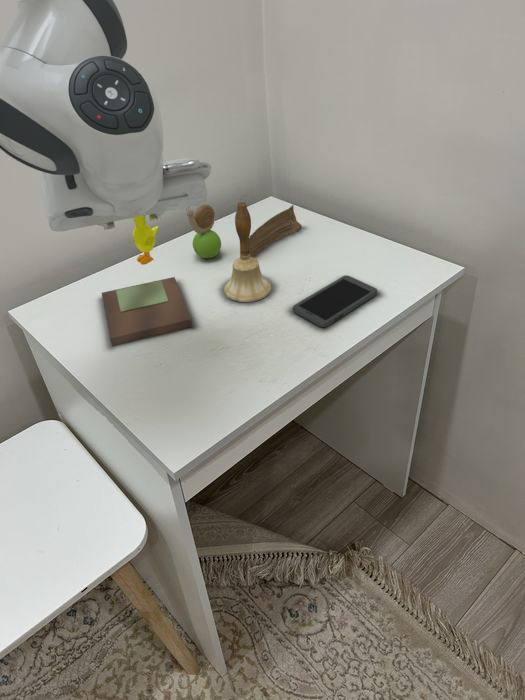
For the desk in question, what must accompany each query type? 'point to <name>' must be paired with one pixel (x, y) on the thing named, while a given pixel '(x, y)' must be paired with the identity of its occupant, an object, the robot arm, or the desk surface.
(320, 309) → the cell phone
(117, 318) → the board
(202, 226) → the snail figurine
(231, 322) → the desk surface
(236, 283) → the hand bell
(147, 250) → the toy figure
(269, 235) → the wood plank
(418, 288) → the desk surface
